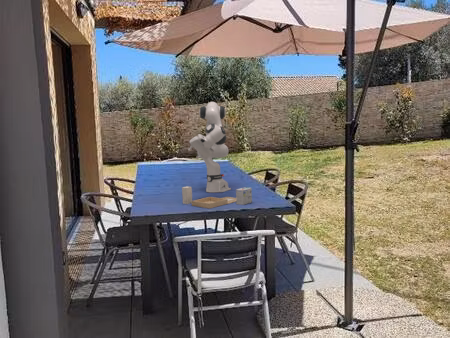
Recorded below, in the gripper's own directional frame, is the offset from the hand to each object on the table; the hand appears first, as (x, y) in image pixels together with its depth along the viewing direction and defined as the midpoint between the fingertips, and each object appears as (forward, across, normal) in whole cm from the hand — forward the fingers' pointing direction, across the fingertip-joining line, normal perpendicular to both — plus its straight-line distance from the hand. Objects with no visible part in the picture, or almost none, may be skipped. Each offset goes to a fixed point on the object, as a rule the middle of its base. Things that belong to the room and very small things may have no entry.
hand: (192, 154), depth 338 cm
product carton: (+23, -15, +25) cm, 37 cm away
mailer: (+5, -27, +32) cm, 42 cm away
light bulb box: (-10, -34, +41) cm, 54 cm away
